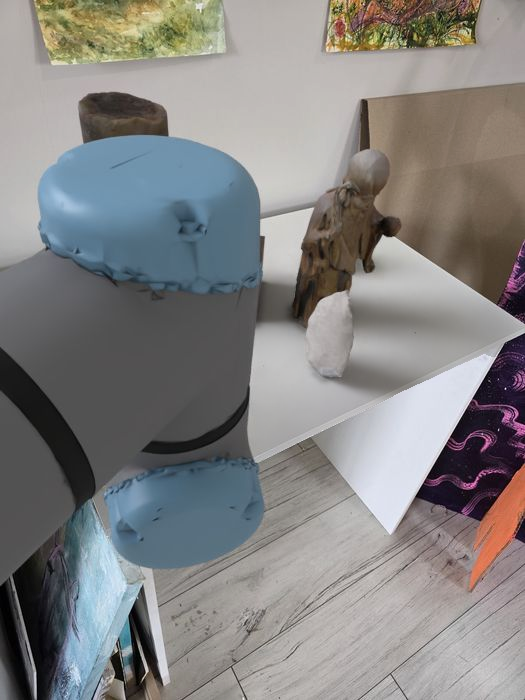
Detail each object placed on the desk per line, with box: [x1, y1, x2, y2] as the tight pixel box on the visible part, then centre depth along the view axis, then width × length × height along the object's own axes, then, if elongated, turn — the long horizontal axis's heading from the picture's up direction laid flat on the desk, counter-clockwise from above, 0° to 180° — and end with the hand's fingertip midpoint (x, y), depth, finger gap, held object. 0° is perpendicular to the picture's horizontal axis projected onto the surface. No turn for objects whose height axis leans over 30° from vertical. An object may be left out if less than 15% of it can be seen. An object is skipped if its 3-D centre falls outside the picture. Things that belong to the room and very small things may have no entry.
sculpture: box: [291, 148, 403, 329], centre depth 76 cm, size 16×11×30 cm
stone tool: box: [304, 290, 355, 378], centre depth 71 cm, size 9×3×15 cm, turn 41°
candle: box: [77, 91, 170, 144], centre depth 47 cm, size 8×7×20 cm
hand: (130, 182), depth 49 cm, fingers closed on candle, 7 cm apart
